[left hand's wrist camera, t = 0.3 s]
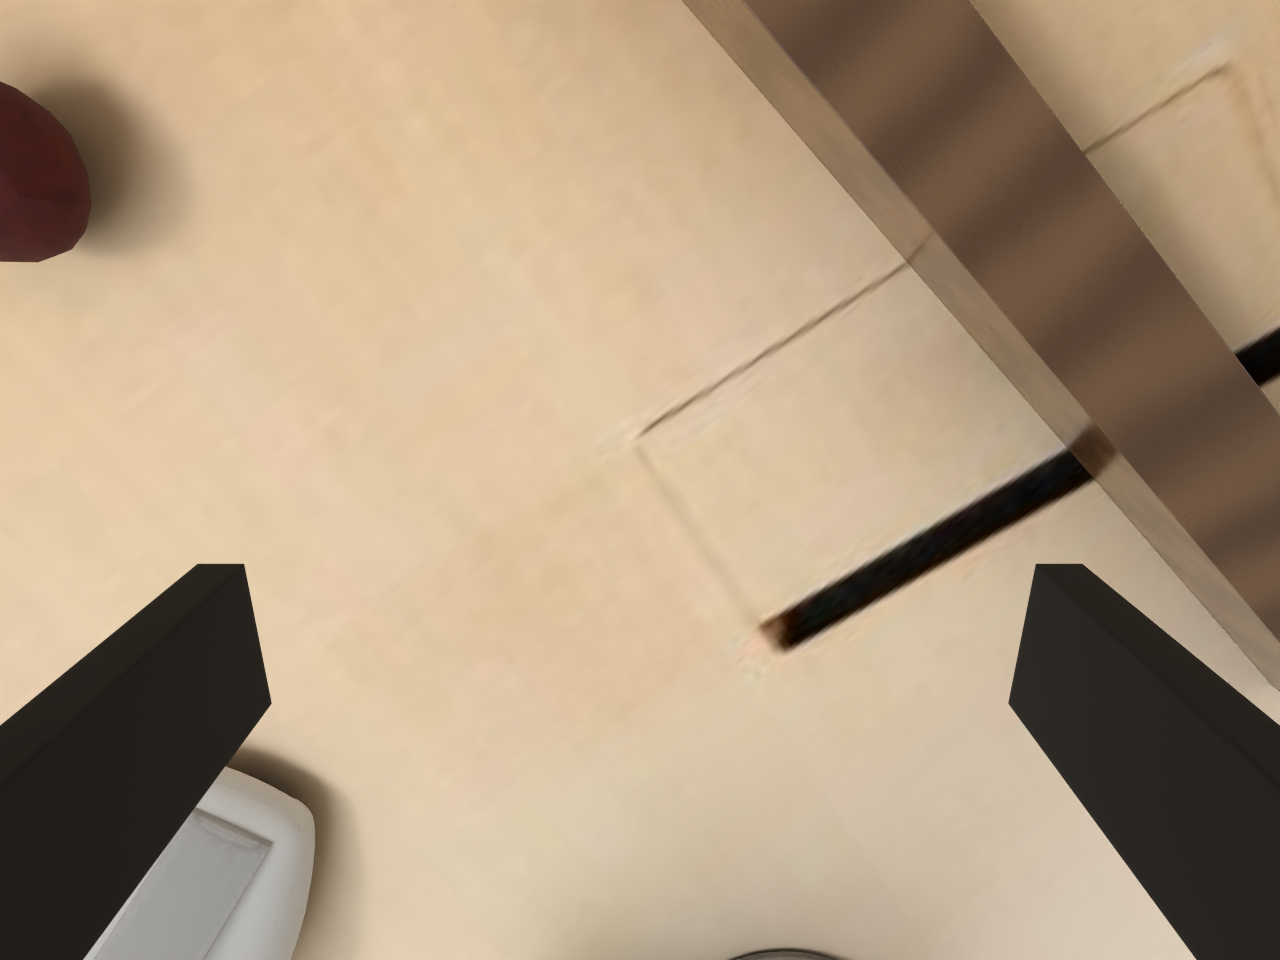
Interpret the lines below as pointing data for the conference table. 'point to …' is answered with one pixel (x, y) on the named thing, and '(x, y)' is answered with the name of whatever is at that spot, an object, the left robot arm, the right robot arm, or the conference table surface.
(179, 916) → the projector
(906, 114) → the bar
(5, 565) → the conference table surface
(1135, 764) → the left robot arm
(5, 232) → the dark red ball
